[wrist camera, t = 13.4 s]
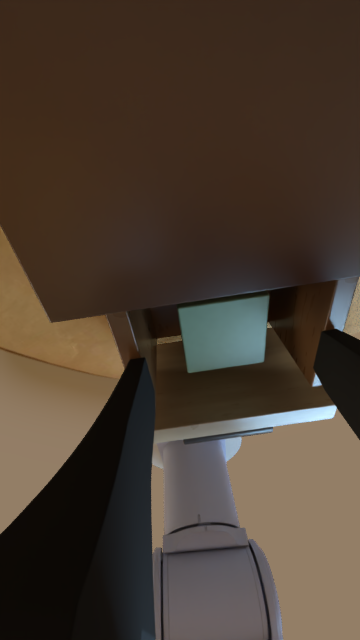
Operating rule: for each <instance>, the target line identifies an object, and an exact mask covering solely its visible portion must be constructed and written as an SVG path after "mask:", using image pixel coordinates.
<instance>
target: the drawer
mask: <svg viewBox="0 0 360 640" xmlns="http://www.w3.org/2000/svg"><path fill="white" fill-rule="evenodd" d="M358 279H359V277H353V278H346V279H340V280H333V281H326V282H320V283H313V284H306V285H300V286H293V287H286V288H280V289H273V290H266V291H267V292H268V293H269V307H268V320H267V322H269V323H270V325H271V326H272V328H267V332H266V345H265V358H264V362H261V363H255V364H248V365H241V366H234V367H227V368H220V369H213V370H207V371H200V372H193V373H188V372H187V367H186V361H185V355H184V349H183V343H182V341H178V342H171V343H164V344H158V345H157V338H163V337H170V336H176V335H181V330H180V324H179V318H178V312H177V304H173V305H166V306H160V307H153V308H146V309H140V310H133V311H126V312H120V313H113V314H106V318H107V321H108V324H109V326H110V329H111V332H112V335H113V338H114V340H115V343H116V346H117V349H118V352H119V354H120V357H121V360H122V363H123V366H124V368H126V366H127V364H128V362H129V360H130V359H136V358H143V357H145V358H146V362H147V365H148V369H149V372H150V376H151V380H152V383H153V387H154V390H155V414H156V415H155V429H154V443H153V444H155V443H162V442H169V441H176V440H183V443H184V445H187V444H194V443H201V442H208V441H215V440H222V439H230V438H237V437H244V436H251V435H258V434H264V433H271V432H272V431H273V427H274V426H281V425H288V424H295V423H302V422H309V421H316V420H323V419H331V418H334V415H335V412H336V409H337V407H336V406H335V404H334V403H333V401H332V400H331V399H330V397H329V396H328V394H327V393H326V391H325V390H324V388H323V386H322V384H321V383H320V381H319V379H318V377H317V375H316V373H315V371H314V369H313V366H314V361H315V357H316V353H317V348H318V344H319V340H320V335H321V331H326V330H333V329H338V330H340V331H342V332H343V330H344V326H345V323H346V320H347V316H348V313H349V309H350V306H351V303H352V299H353V296H354V292H355V289H356V285H357V282H358Z"/></svg>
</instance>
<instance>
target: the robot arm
mask: <svg viewBox="0 0 360 640" xmlns="http://www.w3.org/2000/svg"><path fill="white" fill-rule="evenodd" d="M313 369H314V371H315V373H316V375H317V377H318V379H319V381H320V383H321V384H322V386H323V388H324V390H325V391H326V393H327V394H328V396H329V397H330V399H331V400H332V401H333V403H334V404H335V406H336V407H337V409H338V410H339V411H340V413H341V414H342V416H343V417H344V418H345V420H346V421H347V423H348V424H349V426H350V427H351V428H352V430H353V431H354V433H355V434H356V435H357V437H358V438H359V440H360V340H359V339H357V338H355V337H353V336H351V335H349V334H347V333H345V332H342V331H340V330H338V329H333V330H326V331H321V335H320V340H319V344H318V348H317V353H316V357H315V361H314V366H313ZM155 415H156V414H155V390H154V387H153V383H152V380H151V376H150V372H149V369H148V365H147V362H146V358H145V357H143V358H136V359H130V360H129V362H128V364H127V366H126V368H125V370H124V372H123V374H122V376H121V378H120V380H119V382H118V384H117V385H116V387H115V389H114V391H113V392H112V394H111V396H110V398H109V399H108V401H107V403H106V405H105V406H104V408H103V410H102V411H101V413H100V415H99V416H98V417H97V419H96V421H95V422H94V424H93V425H92V427H91V428H90V430H89V431H88V432H87V434H86V435H85V437H84V438H83V440H82V441H81V443H80V444H79V445H78V446H77V448H76V449H75V450H74V452H73V453H72V454H71V456H70V457H69V458H68V459H67V461H66V462H65V463H64V464H63V466H62V467H61V468H60V469H59V471H58V472H57V473H56V474H55V476H54V477H53V478H52V479H51V480H50V481H49V482H48V484H47V485H46V486H45V487H44V488H43V490H41V492H40V493H39V494H38V495H37V496H36V497H35V498H34V499H33V500H32V501H31V503H30V504H29V505H28V506H27V507H26V508H25V509H24V510H23V512H21V513H20V514H19V516H18V517H17V518H16V519H15V520H14V521H13V522H12V523H11V524H10V525H9V526H8V527H7V528H6V529H5V530H4V531H3V532H2V533H1V534H0V640H283V636H282V621H281V612H280V606H279V600H278V596H277V591H276V587H275V583H274V579H273V576H272V572H271V569H270V566H269V564H268V561H267V558H266V556H265V554H264V552H263V551H262V549H261V548H260V547H259V546H258V545H257V544H256V542H255V541H254V540H253V539H249V540H248V539H247V534H246V530H245V528H240V525H239V521H238V516H237V512H236V507H235V503H234V498H233V493H232V489H231V484H230V479H229V475H228V470H227V464H226V445H225V439H222V440H215V441H208V442H201V443H194V444H187V445H184V443H183V440H176V441H169V442H162V443H157V446H158V449H159V452H160V455H161V458H162V461H163V470H164V535H163V553H162V548H156V549H155V551H154V553H153V554H152V525H151V468H152V456H153V443H154V429H155Z"/></svg>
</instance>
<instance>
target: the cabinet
mask: <svg viewBox="0 0 360 640" xmlns="http://www.w3.org/2000/svg"><path fill="white" fill-rule="evenodd" d="M0 225H1V227H2V229H3V231H4V233H5V235H6V237H7V239H8V241H9V243H10V245H11V247H12V249H13V251H14V253H15V255H16V257H17V259H18V260H19V262H20V264H21V266H22V268H23V270H24V272H25V274H26V276H27V278H28V280H29V282H30V284H31V286H32V288H33V290H34V292H35V294H36V296H37V297H38V299H39V301H40V303H41V305H42V307H43V309H44V311H45V313H46V315H47V317H48V319H49V321H50V322H51V323H53V322H60V321H66V320H73V319H80V318H86V317H93V316H100V315H106V314H113V313H120V312H126V311H133V310H140V309H146V308H153V307H160V306H166V305H173V304H180V303H186V302H193V301H200V300H206V299H213V298H220V297H226V296H233V295H240V294H246V293H253V292H260V291H266V290H273V289H280V288H286V287H293V286H300V285H306V284H313V283H320V282H326V281H333V280H340V279H346V278H353V277H360V0H0Z"/></svg>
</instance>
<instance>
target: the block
mask: <svg viewBox="0 0 360 640" xmlns="http://www.w3.org/2000/svg"><path fill="white" fill-rule="evenodd" d="M268 307H269V293H268V292H267V291H260V292H253V293H246V294H240V295H233V296H226V297H220V298H213V299H206V300H200V301H193V302H186V303H180V304H177V312H178V318H179V324H180V330H181V337H182V343H183V349H184V355H185V361H186V367H187V372H188V373H193V372H200V371H207V370H213V369H220V368H227V367H234V366H241V365H248V364H255V363H261V362H264V358H265V345H266V332H267V320H268Z"/></svg>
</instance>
